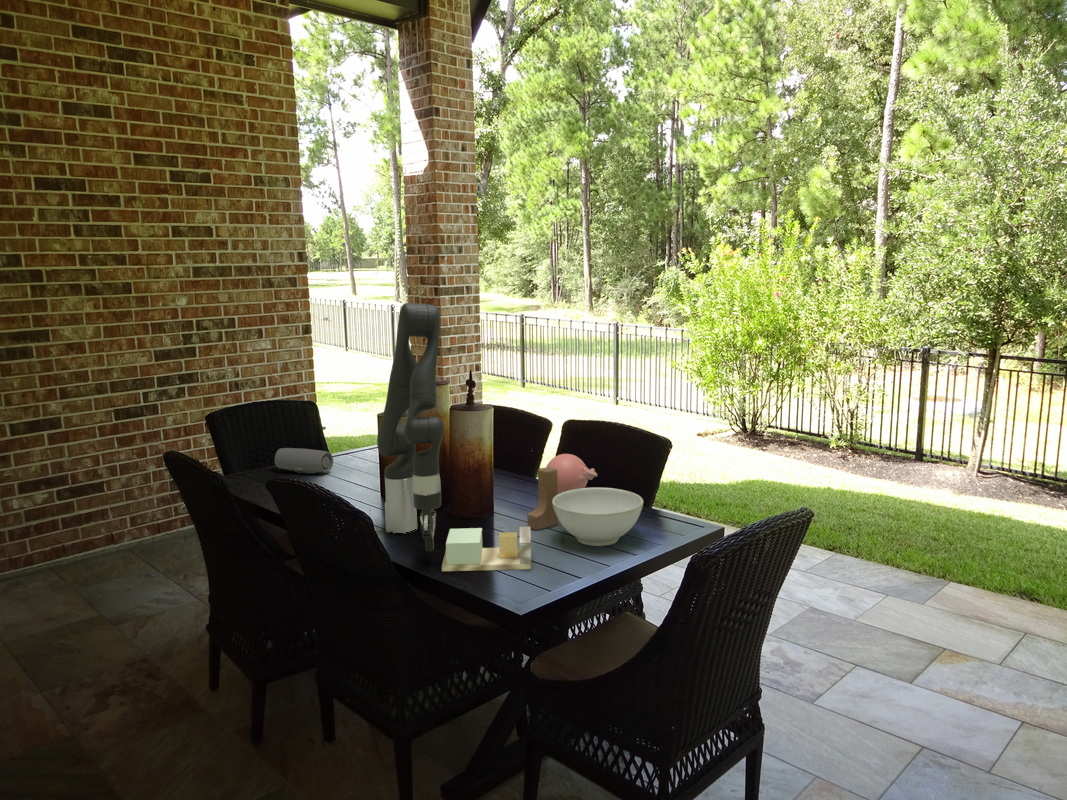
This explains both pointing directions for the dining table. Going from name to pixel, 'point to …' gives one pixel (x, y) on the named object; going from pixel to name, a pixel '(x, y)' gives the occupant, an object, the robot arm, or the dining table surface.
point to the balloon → (571, 472)
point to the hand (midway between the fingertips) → (429, 550)
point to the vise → (493, 561)
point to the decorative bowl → (597, 513)
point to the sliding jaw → (464, 546)
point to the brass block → (508, 545)
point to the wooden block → (544, 500)
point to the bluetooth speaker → (303, 460)
